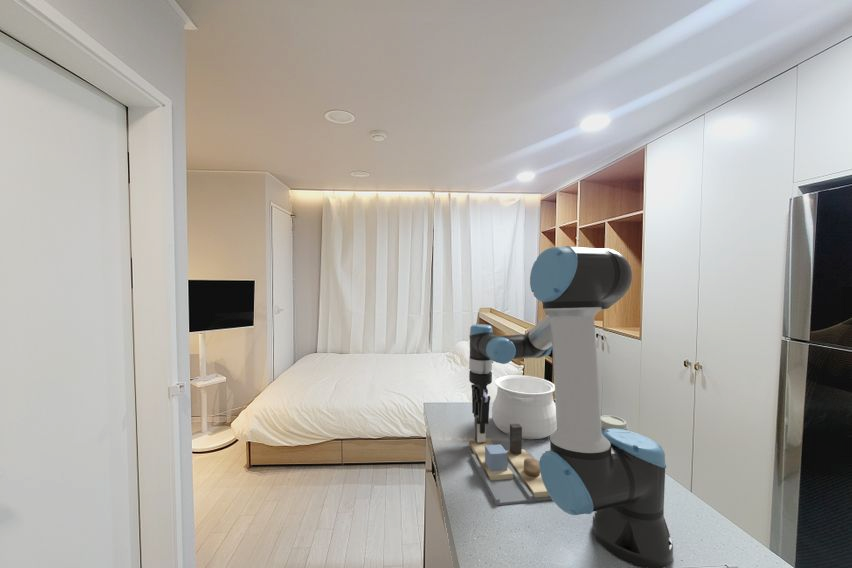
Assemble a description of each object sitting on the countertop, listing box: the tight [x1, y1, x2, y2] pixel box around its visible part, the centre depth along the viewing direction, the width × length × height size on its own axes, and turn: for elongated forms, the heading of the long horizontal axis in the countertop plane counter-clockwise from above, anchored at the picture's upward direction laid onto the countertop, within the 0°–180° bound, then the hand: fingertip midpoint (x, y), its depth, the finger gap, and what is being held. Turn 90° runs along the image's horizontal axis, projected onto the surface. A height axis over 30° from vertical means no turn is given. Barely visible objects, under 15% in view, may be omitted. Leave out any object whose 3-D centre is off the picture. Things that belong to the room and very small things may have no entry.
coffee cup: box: [600, 414, 629, 435], centre depth 110 cm, size 8×8×12 cm
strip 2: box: [506, 424, 550, 498], centre depth 99 cm, size 21×7×10 cm, turn 9°
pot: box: [491, 374, 557, 440], centre depth 130 cm, size 26×24×17 cm
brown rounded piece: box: [524, 458, 540, 477], centre depth 97 cm, size 4×4×3 cm
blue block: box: [485, 444, 507, 471], centre depth 100 cm, size 5×5×5 cm
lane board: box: [470, 449, 553, 506], centre depth 98 cm, size 22×19×2 cm
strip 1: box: [468, 415, 513, 481], centre depth 106 cm, size 21×7×10 cm, turn 9°
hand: (479, 439), depth 115 cm, fingers closed on strip 1, 2 cm apart
